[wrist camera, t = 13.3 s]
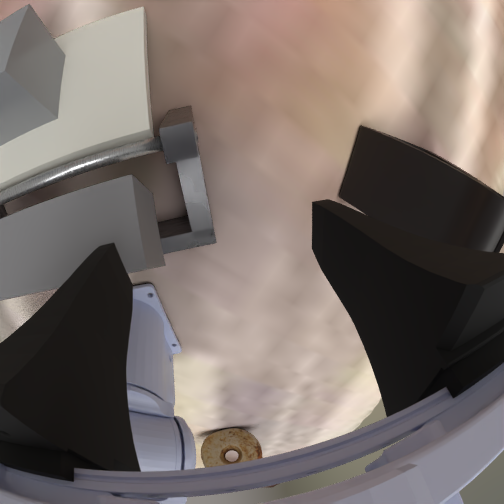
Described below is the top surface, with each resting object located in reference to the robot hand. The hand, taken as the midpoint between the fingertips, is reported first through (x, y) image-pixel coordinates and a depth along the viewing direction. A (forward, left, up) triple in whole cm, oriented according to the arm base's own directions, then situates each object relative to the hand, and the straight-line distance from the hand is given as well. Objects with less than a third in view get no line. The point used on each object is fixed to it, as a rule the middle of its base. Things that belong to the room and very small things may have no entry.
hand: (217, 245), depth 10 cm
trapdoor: (+3, +9, -8) cm, 13 cm away
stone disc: (-45, +6, -11) cm, 47 cm away
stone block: (+7, +9, -7) cm, 14 cm away
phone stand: (-3, -15, -11) cm, 19 cm away
